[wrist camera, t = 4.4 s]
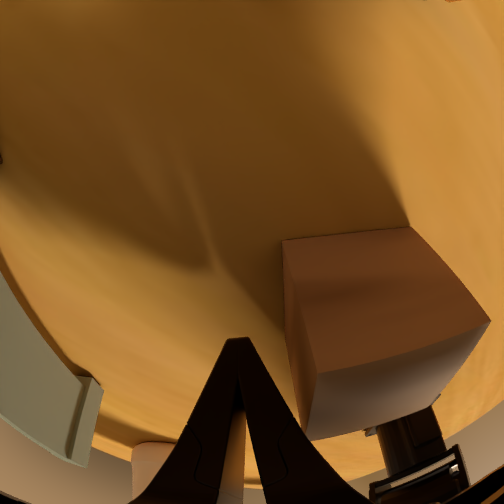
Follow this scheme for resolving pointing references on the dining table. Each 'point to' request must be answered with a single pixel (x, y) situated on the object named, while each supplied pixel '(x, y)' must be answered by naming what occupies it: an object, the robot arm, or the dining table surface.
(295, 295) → the reddish brown cube
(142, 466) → the vodka
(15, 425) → the grey slab
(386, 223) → the dining table surface
